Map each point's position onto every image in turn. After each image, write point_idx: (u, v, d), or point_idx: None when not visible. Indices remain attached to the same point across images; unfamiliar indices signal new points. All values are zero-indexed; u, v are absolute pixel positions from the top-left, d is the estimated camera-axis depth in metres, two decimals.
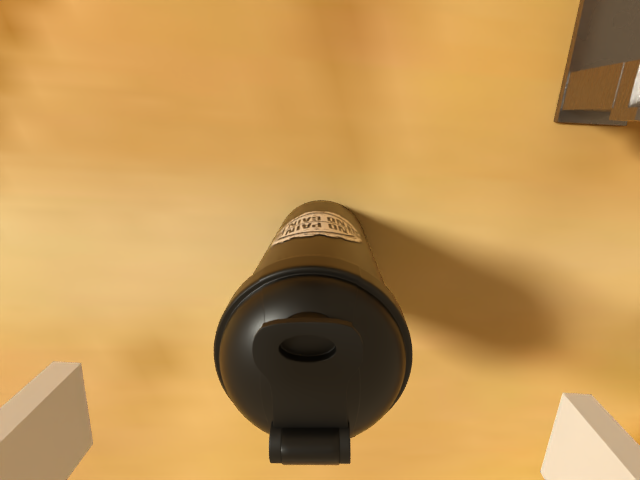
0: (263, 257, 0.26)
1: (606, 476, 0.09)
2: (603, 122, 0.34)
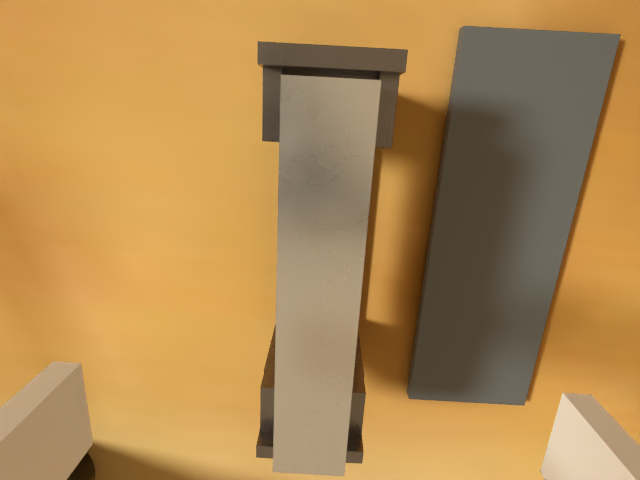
0: None
1: (606, 476, 0.09)
2: None
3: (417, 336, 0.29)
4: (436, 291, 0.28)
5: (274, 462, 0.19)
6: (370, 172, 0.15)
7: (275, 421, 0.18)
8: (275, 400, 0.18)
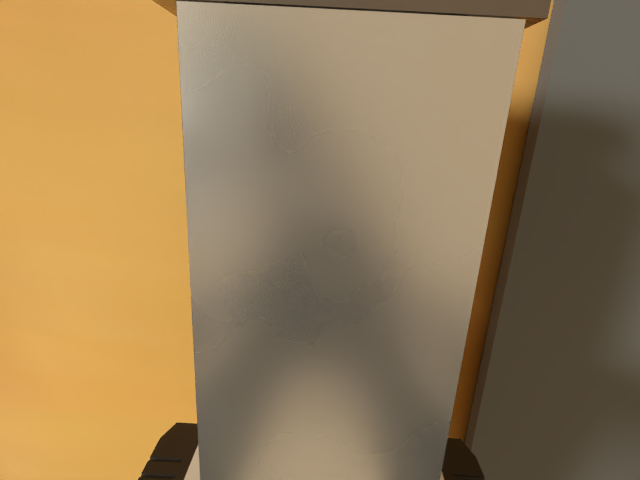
0: None
1: None
2: None
3: None
4: (500, 397, 0.18)
5: None
6: (465, 308, 0.05)
7: None
8: None
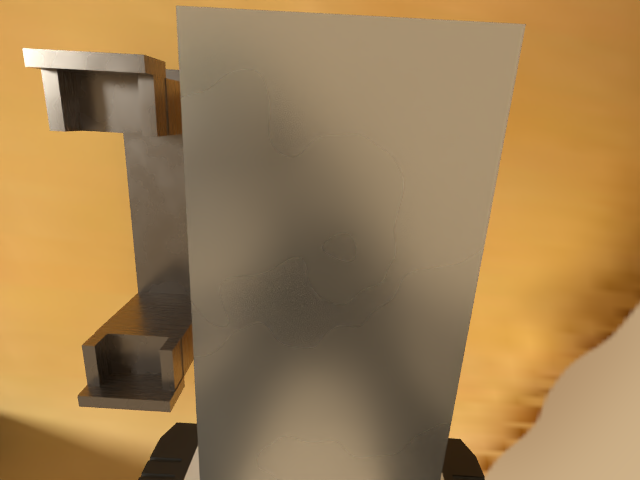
0: None
1: None
2: None
3: None
4: None
5: None
6: (465, 312, 0.05)
7: None
8: None
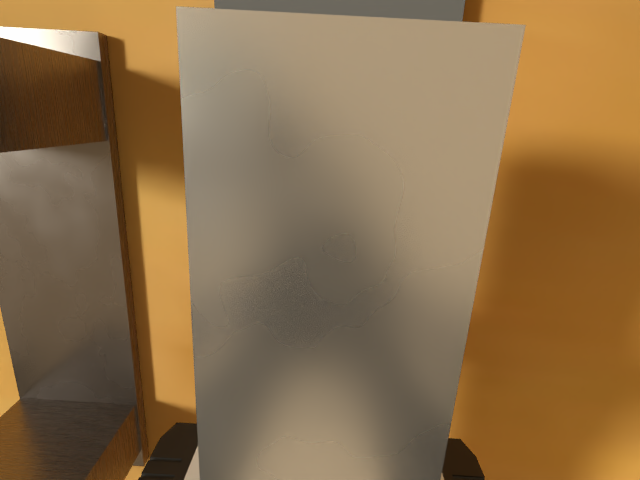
0: None
1: None
2: None
3: None
4: None
5: None
6: (465, 312, 0.05)
7: None
8: None
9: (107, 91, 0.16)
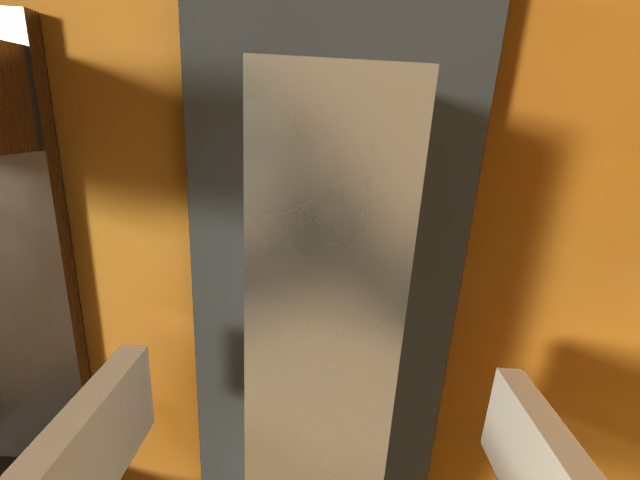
0: None
1: (524, 438, 0.10)
2: None
3: None
4: (220, 430, 0.15)
5: None
6: (412, 235, 0.08)
7: None
8: None
9: (42, 86, 0.12)
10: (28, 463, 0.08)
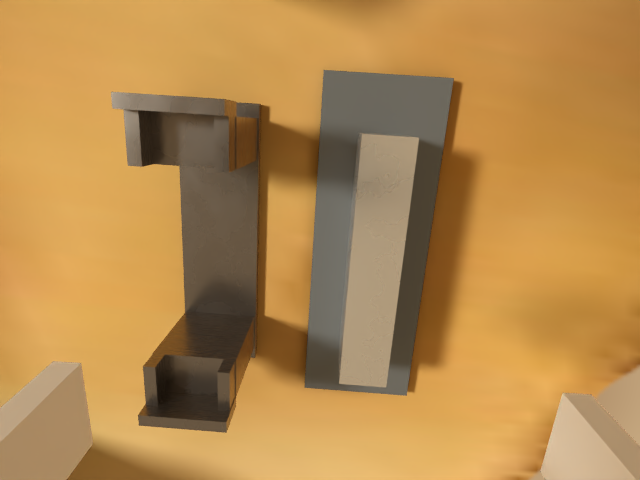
0: None
1: (606, 476, 0.09)
2: None
3: (308, 331, 0.33)
4: (320, 292, 0.32)
5: (340, 376, 0.29)
6: (411, 189, 0.25)
7: (343, 347, 0.28)
8: (344, 333, 0.28)
9: (259, 133, 0.29)
10: None
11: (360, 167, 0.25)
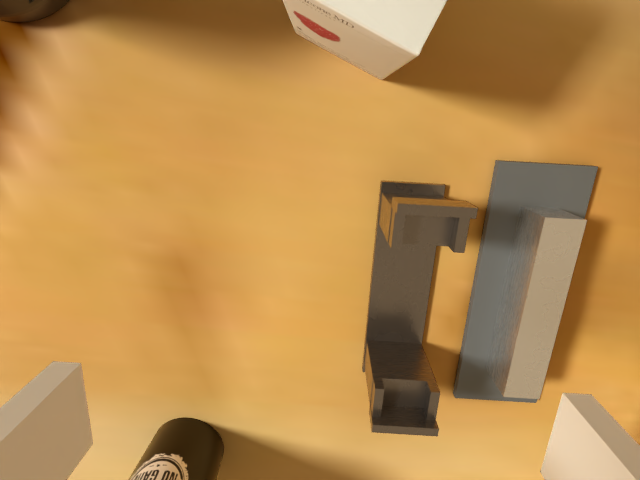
0: None
1: (607, 476, 0.09)
2: None
3: (462, 354, 0.42)
4: (476, 324, 0.41)
5: (505, 391, 0.38)
6: (576, 255, 0.34)
7: (510, 369, 0.37)
8: (512, 359, 0.37)
9: None
10: None
11: (541, 240, 0.33)
